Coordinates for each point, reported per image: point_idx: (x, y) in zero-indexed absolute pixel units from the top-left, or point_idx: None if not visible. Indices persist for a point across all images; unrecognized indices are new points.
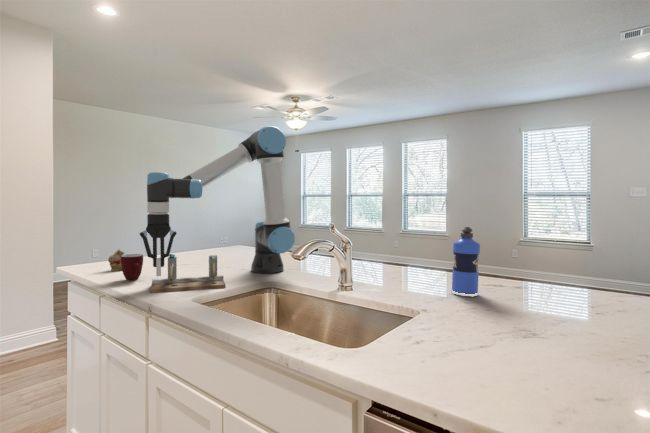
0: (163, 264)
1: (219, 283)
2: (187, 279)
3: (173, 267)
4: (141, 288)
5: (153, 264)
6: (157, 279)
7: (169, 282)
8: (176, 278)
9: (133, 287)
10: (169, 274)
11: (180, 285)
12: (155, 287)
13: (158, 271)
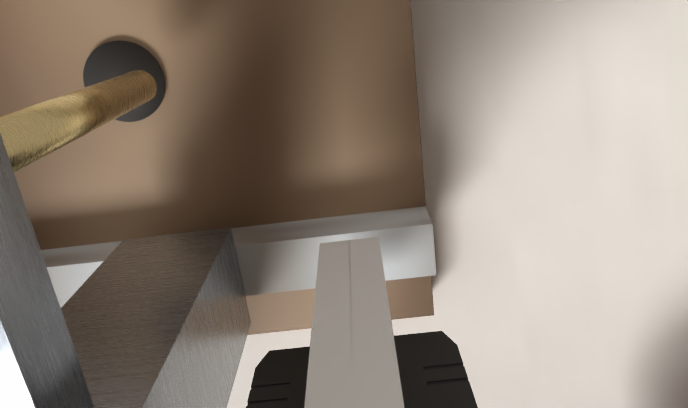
0: (264, 376)
1: None
2: None
3: (91, 325)
4: (531, 162)
5: (456, 364)
6: None
7: None
8: None
9: (622, 223)
10: (193, 258)
11: (49, 73)
12: (351, 13)
13: (351, 271)
